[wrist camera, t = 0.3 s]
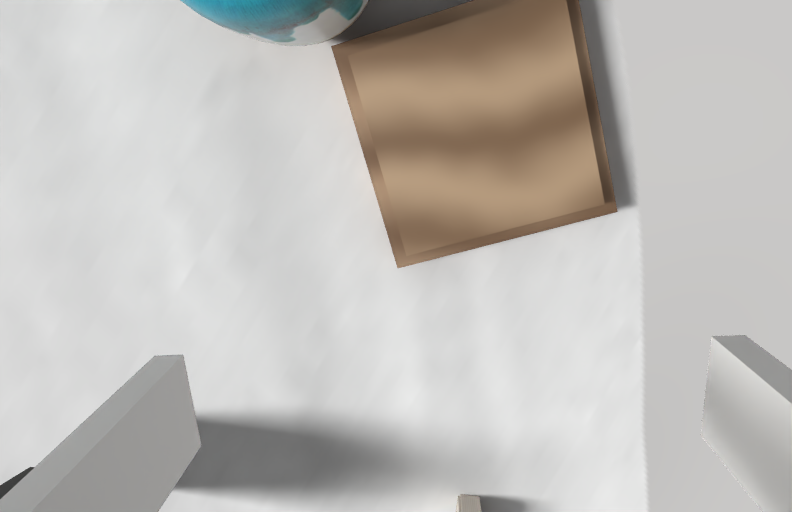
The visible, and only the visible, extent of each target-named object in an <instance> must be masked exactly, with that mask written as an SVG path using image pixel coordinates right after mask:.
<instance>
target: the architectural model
mask: <svg viewBox="0 0 792 512" xmlns="http://www.w3.org/2000/svg"><path fill="white" fill-rule="evenodd" d="M456 512H481V505H480V497H479V496H472V495H463V494H461V495H460V496H458V499H457V506H456Z"/></svg>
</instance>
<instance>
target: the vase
mask: <svg viewBox="0 0 792 512" xmlns="http://www.w3.org/2000/svg"><path fill="white" fill-rule="evenodd" d="M181 1H182V2H183V3H185V4H186V5H187V6H189V7H190V8H191V9H193V10H194V11H196V12H197V13H198V14H200V15H201V16H203V17H205V18H207V19H209V20H211V21H212V22H214V23H216V24H218V25H220V26H222V27H224V28H226V29H228V30H231V31H233V32H236V33H239V34H241V35H244V36H247V37H250V38H253V39H256V40H259V41H263V42H267V43H272V44H278V45H285V46H307V45H312V44H317V43H321V42H324V41H327V40H329V39H332V38H334V37H335V36H337V35H339V34H341V33H342V32H344V31H345V30H346V29H347V28H348V27H350V26H351V25H352V24H353V23H354V22H355V21H356V19H357V18H358V17H359V16H360V15H361V13H362V12H363V10H364V9H365V7H366V5H367V4H368V2H369V0H181Z"/></svg>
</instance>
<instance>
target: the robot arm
mask: <svg viewBox="0 0 792 512" xmlns="http://www.w3.org/2000/svg"><path fill="white" fill-rule="evenodd" d="M701 437H702V438H703V439H704V440H705V441H706V442H707V444H708V445H709V446H710V448H711V449H712V450H713V451H714V453H715V454H716V455H717V456H718V458H719V459H720V460H721V461H722V462H723V464H724V465H725V466H726V468H727V469H728V470H729V471H730V472H731V474H732V475H733V476H734V477H735V479H736V480H737V481H738V482H739V483H740V485H741V486H742V487H743V489H744V490H745V491H746V492H747V494H748V495H749V496H750V497H751V499H752V500H753V501H754V502H755V504H756V505H757V506H758V507H759V508H760V510H761V511H762V512H792V370H791V369H790V368H788V367H787V366H786V365H784V364H783V363H782V362H780V361H779V360H778V359H776V358H775V357H774V356H772V355H771V354H770V353H768V352H767V351H766V350H764V349H763V348H762V347H760V346H759V345H758V344H756V343H755V342H753V341H752V340H751V339H750V338H748V337H747V336H745V335H735V336H712V337H711V346H710V355H709V365H708V373H707V383H706V391H705V400H704V410H703V420H702V428H701ZM201 446H202V445H201V440H200V435H199V430H198V426H197V421H196V416H195V411H194V406H193V401H192V396H191V391H190V386H189V381H188V376H187V371H186V366H185V361H184V356H183V355H162V356H154V357H153V358H152V359H151V360H150V361H149V362H148V363H146V364H145V365H144V366H143V367H142V368H141V369H140V370H139V371H138V372H137V373H136V374H135V375H134V376H133V377H131V378H130V379H129V380H128V381H127V382H126V383H125V384H124V385H123V386H122V387H121V388H120V389H119V390H117V391H116V392H115V393H114V394H113V395H112V396H111V397H110V398H109V399H108V400H107V401H106V402H105V403H103V404H102V405H101V406H100V407H99V408H98V409H97V410H96V411H95V412H94V413H93V414H92V415H91V416H89V417H88V418H87V419H86V420H85V421H84V422H83V423H82V424H81V425H80V426H79V427H78V428H77V429H75V430H74V431H73V432H72V433H71V434H70V435H69V436H68V437H67V438H66V439H65V440H64V441H63V442H61V443H60V444H59V445H58V446H57V447H56V448H55V449H54V450H53V451H52V452H51V453H50V454H49V455H47V456H46V457H45V458H44V459H43V460H42V461H41V462H40V463H39V464H38V465H37V466H36V467H30V468H28V469H26V470H25V471H23V472H21V473H20V474H18V475H16V476H15V477H13V478H12V479H10V480H8V481H7V482H5V483H3V484H2V485H0V512H158V511H159V509H160V508H161V506H162V505H163V503H164V502H165V500H166V499H167V497H168V496H169V494H170V493H171V491H172V490H173V488H174V487H175V485H176V484H177V482H178V481H179V479H180V478H181V476H182V475H183V473H184V472H185V470H186V469H187V467H188V466H189V464H190V463H191V461H192V460H193V458H194V457H195V455H196V453H197V452H198V450H199V449H200V447H201Z"/></svg>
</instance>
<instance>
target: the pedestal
mask: <svg viewBox="0 0 792 512" xmlns="http://www.w3.org/2000/svg"><path fill="white" fill-rule="evenodd" d="M331 47H332V50H333V54H334V57H335V60H336V64H337V67H338V70H339V74H340V77H341V80H342V84H343V87H344V90H345V94H346V97H347V100H348V104H349V107H350V110H351V114H352V117H353V120H354V124H355V127H356V130H357V134H358V137H359V140H360V144H361V147H362V150H363V154H364V157H365V160H366V164H367V167H368V170H369V174H370V177H371V180H372V184H373V187H374V190H375V194H376V197H377V200H378V204H379V207H380V211H381V214H382V217H383V221H384V224H385V227H386V231H387V234H388V237H389V241H390V244H391V247H392V251H393V254H394V257H395V261H396V264H397V267H398V268H401V267H405V266H409V265H413V264H416V263H420V262H424V261H428V260H432V259H436V258H440V257H444V256H448V255H451V254H455V253H459V252H463V251H467V250H471V249H475V248H479V247H482V246H486V245H490V244H494V243H498V242H502V241H506V240H510V239H514V238H517V237H521V236H525V235H529V234H533V233H537V232H541V231H545V230H549V229H552V228H556V227H560V226H564V225H568V224H572V223H576V222H580V221H584V220H587V219H591V218H595V217H599V216H603V215H607V214H611V213H615V212H617V207H616V201H615V196H614V190H613V185H612V179H611V174H610V168H609V163H608V157H607V152H606V147H605V141H604V136H603V130H602V125H601V119H600V114H599V108H598V103H597V97H596V92H595V86H594V81H593V76H592V70H591V65H590V59H589V54H588V48H587V43H586V37H585V32H584V26H583V21H582V15H581V10H580V5H579V0H473V1H470V2H467V3H464V4H461V5H458V6H454V7H451V8H448V9H445V10H442V11H439V12H436V13H433V14H430V15H427V16H424V17H420V18H417V19H414V20H411V21H408V22H405V23H402V24H399V25H396V26H393V27H390V28H386V29H383V30H380V31H377V32H374V33H371V34H368V35H365V36H362V37H359V38H356V39H353V40H349V41H346V42H343V43H340V44H337V45H334V46H331Z"/></svg>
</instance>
